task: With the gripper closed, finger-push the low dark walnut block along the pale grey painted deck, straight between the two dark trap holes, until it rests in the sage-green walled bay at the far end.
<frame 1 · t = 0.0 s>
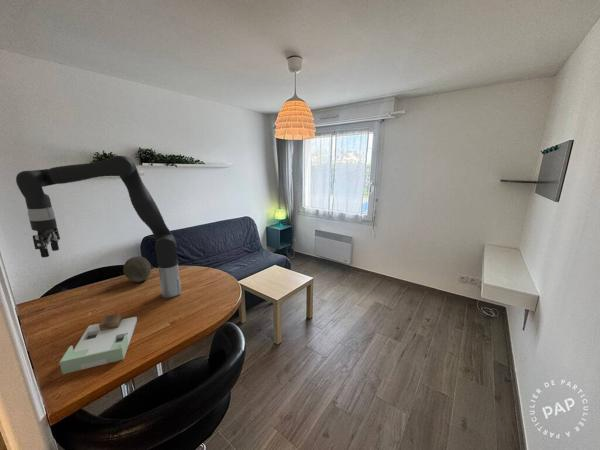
hand: (50, 253, 104), 29 cm above the table, fingers open, 8 cm apart
block: (111, 325, 100), point 2 cm above the table, touching deck
deck: (105, 343, 93), on the table
cantaloupe: (139, 280, 142), on the table
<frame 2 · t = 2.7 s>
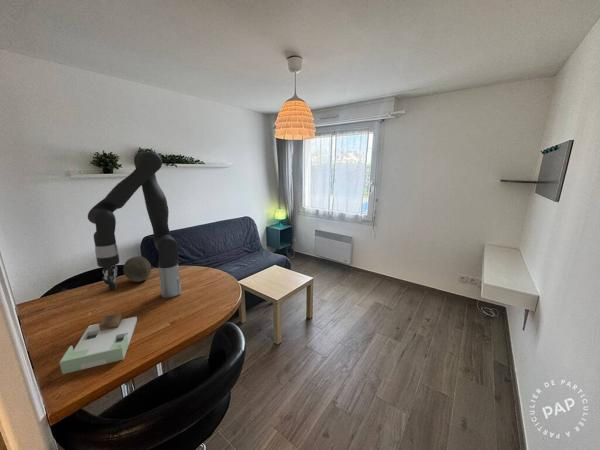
hand: (113, 290, 105), 14 cm above the table, fingers closed
nothing on the table moved.
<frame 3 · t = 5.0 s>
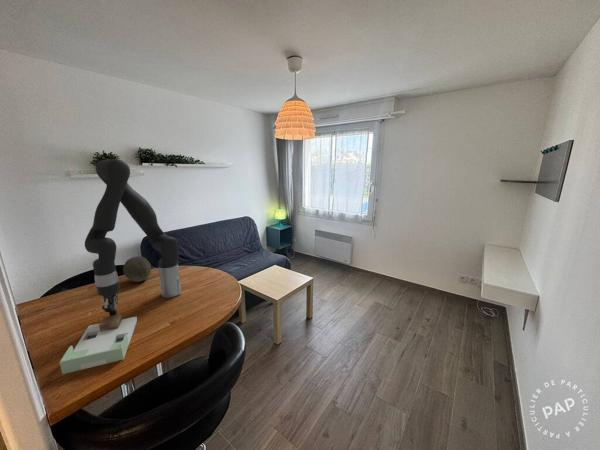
hand: (113, 316, 104), 3 cm above the table, fingers closed
block: (111, 325, 100), point 2 cm above the table, touching gripper
everything else where it was.
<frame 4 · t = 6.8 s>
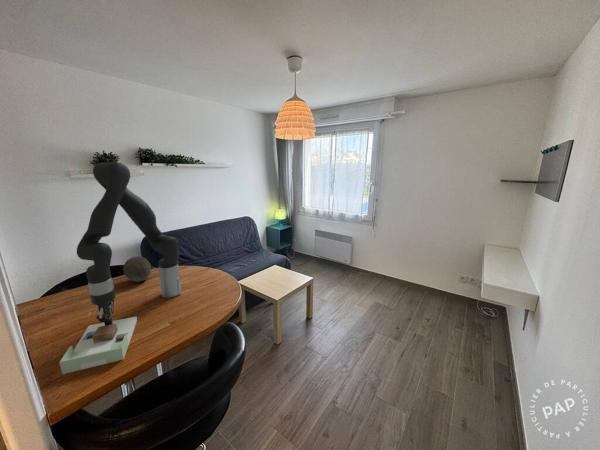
hand: (109, 326, 98), 3 cm above the table, fingers closed
block: (106, 336, 94), point 2 cm above the table, touching deck, gripper
everything else where it was.
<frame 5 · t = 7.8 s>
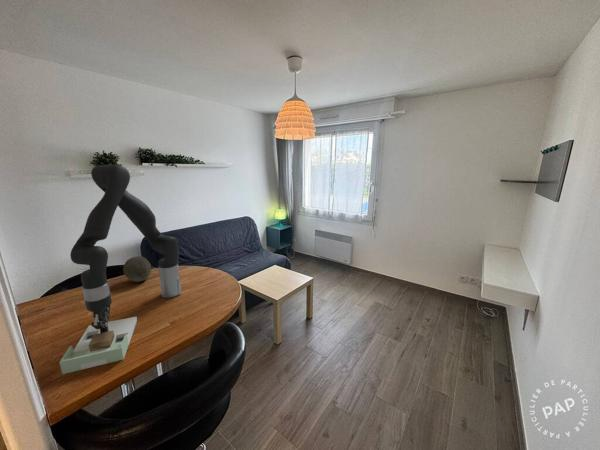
hand: (105, 333, 94), 3 cm above the table, fingers closed
block: (102, 343, 90), point 2 cm above the table, touching deck, gripper
everything else where it was.
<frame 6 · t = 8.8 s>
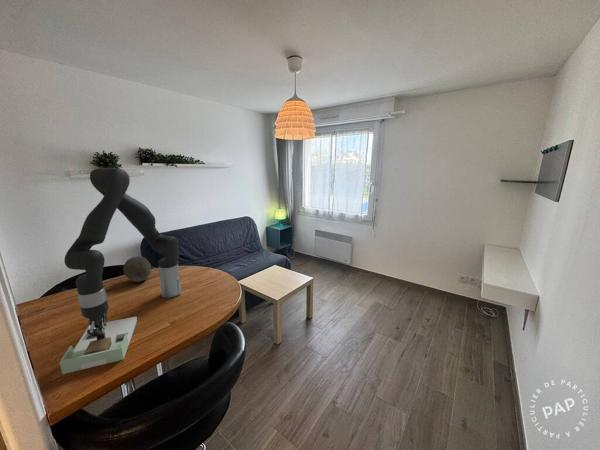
hand: (101, 340, 90), 3 cm above the table, fingers closed
block: (99, 351, 86), point 2 cm above the table, touching deck, gripper
everything else where it was.
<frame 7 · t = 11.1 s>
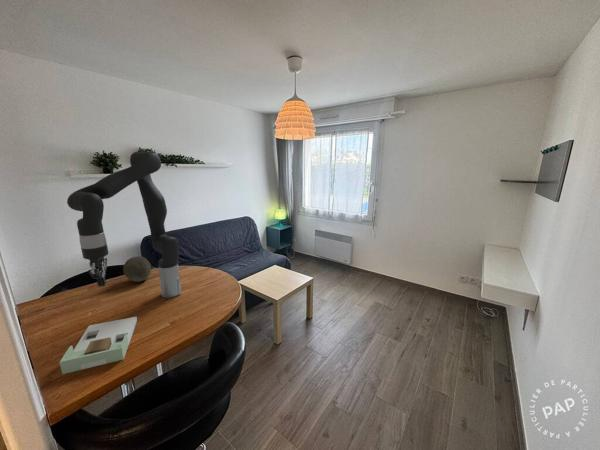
hand: (102, 285, 94), 22 cm above the table, fingers closed
block: (99, 351, 86), point 2 cm above the table, touching deck
everything else where it was.
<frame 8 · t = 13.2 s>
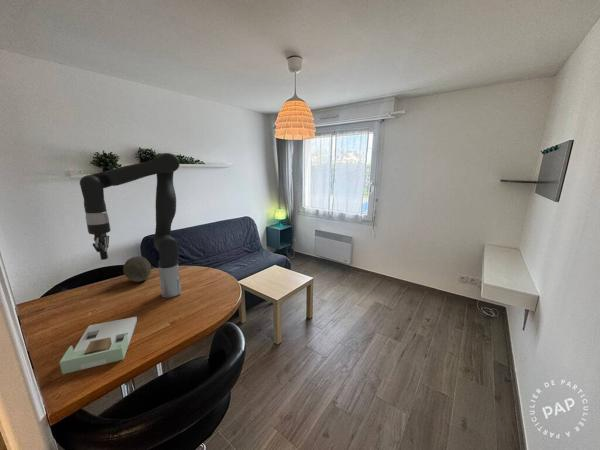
hand: (104, 258, 106), 27 cm above the table, fingers closed
nothing on the table moved.
at the end: block 0.7 cm from the target spot on the deck, point 2.0 cm above the deck's base; block tilted 0°; the gripper is holding nothing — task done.
